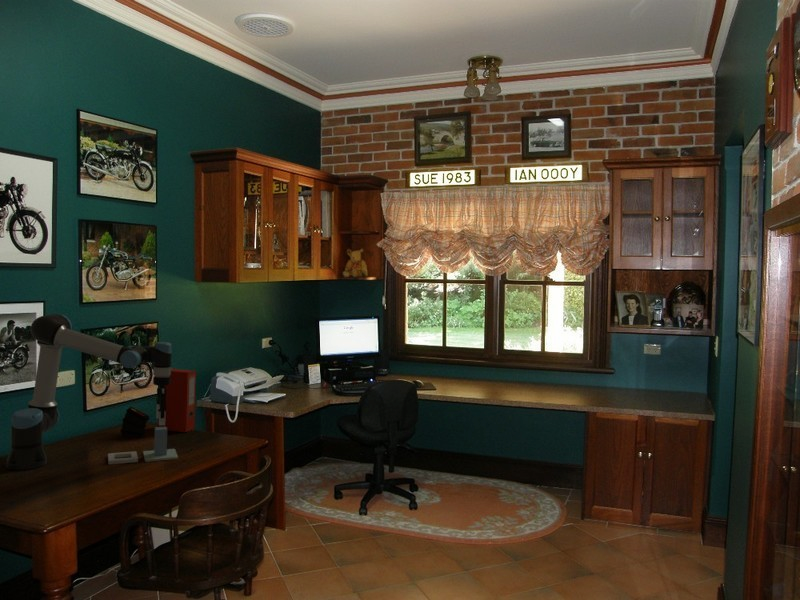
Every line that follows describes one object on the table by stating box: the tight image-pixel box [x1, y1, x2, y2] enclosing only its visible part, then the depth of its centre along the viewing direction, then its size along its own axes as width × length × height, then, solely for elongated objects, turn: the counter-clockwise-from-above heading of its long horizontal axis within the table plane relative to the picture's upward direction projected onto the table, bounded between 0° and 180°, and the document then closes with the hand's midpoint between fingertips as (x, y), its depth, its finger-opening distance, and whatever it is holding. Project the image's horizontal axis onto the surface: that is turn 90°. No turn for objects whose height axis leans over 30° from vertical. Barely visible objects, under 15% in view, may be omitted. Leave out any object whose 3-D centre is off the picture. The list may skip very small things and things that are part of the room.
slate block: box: [153, 426, 168, 456], centre depth 297 cm, size 5×5×12 cm
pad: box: [142, 448, 179, 463], centre depth 297 cm, size 14×14×1 cm
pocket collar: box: [107, 451, 139, 465], centre depth 290 cm, size 12×12×2 cm
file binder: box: [157, 368, 197, 433], centre depth 344 cm, size 8×17×32 cm, turn 75°
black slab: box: [119, 406, 150, 438], centre depth 328 cm, size 4×13×15 cm, turn 88°
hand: (160, 421), depth 296 cm, fingers open, 13 cm apart
